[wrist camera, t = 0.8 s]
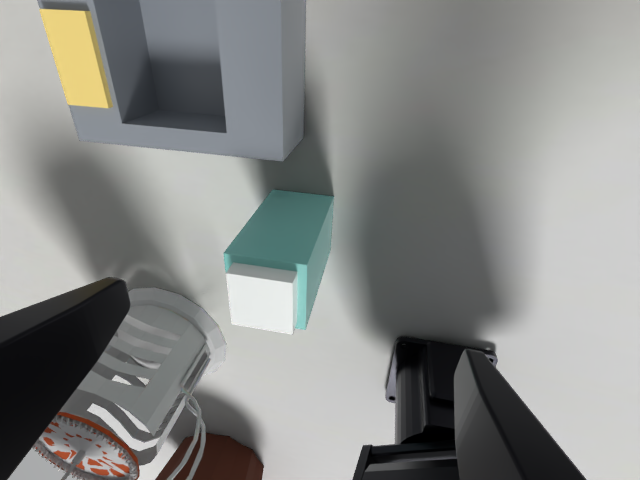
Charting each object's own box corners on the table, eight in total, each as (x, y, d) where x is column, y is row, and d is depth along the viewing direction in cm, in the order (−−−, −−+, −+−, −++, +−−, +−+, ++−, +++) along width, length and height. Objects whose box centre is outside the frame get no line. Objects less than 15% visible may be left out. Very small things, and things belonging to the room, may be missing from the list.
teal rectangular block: (330, 249, 23) (301, 342, 16) (274, 242, 23) (224, 329, 17) (333, 196, 21) (302, 276, 14) (272, 189, 21) (215, 263, 15)
